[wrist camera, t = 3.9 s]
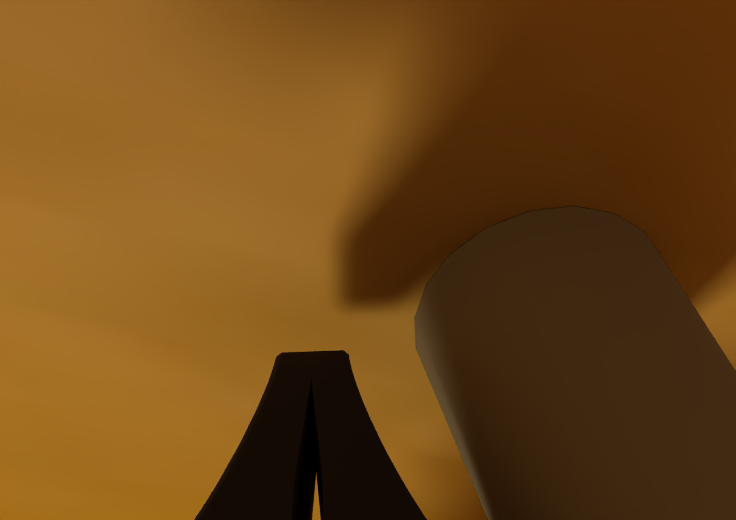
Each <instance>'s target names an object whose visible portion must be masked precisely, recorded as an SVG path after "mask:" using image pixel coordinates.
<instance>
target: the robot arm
mask: <svg viewBox="0 0 736 520" xmlns="http://www.w3.org/2000/svg"><path fill="white" fill-rule="evenodd" d="M316 474H317V484H318V495H319V505H320V516H321V520H427V519H426V518H425V516H424V515H423V513H422V511H421V510H420V508H419V507H418V505H417V504H416V502H415V501H414V499H413V497H412V496H411V494H410V493H409V491H408V489H407V488H406V486H405V484H404V482H403V481H402V479H401V477H400V476H399V474H398V472H397V470H396V468H395V467H394V465H393V463H392V461H391V459H390V458H389V456H388V454H387V452H386V450H385V448H384V446H383V444H382V442H381V440H380V438H379V436H378V434H377V432H376V430H375V428H374V425H373V423H372V421H371V419H370V417H369V415H368V412H367V410H366V408H365V405H364V403H363V400H362V398H361V395H360V393H359V390H358V387H357V385H356V382H355V379H354V375H353V372H352V368H351V364H350V360H349V354H347V353H346V352H345V351H343V350H339V351H313V352H287V353H281V354H279V355H278V356H277V357H276V360H275V363H274V367H273V370H272V373H271V376H270V379H269V381H268V384H267V386H266V389H265V391H264V394H263V396H262V398H261V401H260V403H259V405H258V408H257V410H256V412H255V414H254V416H253V418H252V420H251V422H250V424H249V426H248V428H247V430H246V432H245V434H244V437H243V439H242V440H241V442H240V444H239V446H238V448H237V450H236V452H235V453H234V455H233V457H232V459H231V460H230V462H229V464H228V466H227V468H226V469H225V471H224V473H223V475H222V476H221V478H220V480H219V482H218V483H217V485H216V487H215V488H214V490H213V491H212V493H211V495H210V496H209V498H208V500H207V501H206V503H205V504H204V506H203V507H202V509H201V510H200V512H199V513H198V515H197V516H196V518H195V519H194V520H312V513H313V502H314V491H315V480H316Z"/></svg>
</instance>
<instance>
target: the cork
mask: <svg viewBox="0 0 736 520" xmlns="http://www.w3.org/2000/svg"><path fill="white" fill-rule="evenodd" d="M414 319H415V339H416V349H417V352H418V354H419V357H420V359H421V361H422V364H423V366H424V368H425V371H426V373H427V376H428V378H429V380H430V383H431V385H432V388H433V390H434V392H435V395H436V397H437V399H438V402H439V404H440V407H441V409H442V411H443V414H444V416H445V418H446V421H447V423H448V426H449V428H450V430H451V433H452V435H453V438H454V440H455V442H456V445H457V447H458V449H459V452H460V454H461V457H462V459H463V461H464V464H465V466H466V468H467V471H468V473H469V476H470V478H471V480H472V483H473V485H474V488H475V490H476V492H477V495H478V497H479V499H480V502H481V504H482V507H483V509H484V511H485V514H486V516H487V518H488V520H736V371H735V369H734V368H733V366H732V365H731V363H730V362H729V360H728V358H727V357H726V355H725V354H724V352H723V351H722V349H721V348H720V346H719V345H718V343H717V341H716V340H715V338H714V337H713V335H712V334H711V332H710V331H709V329H708V328H707V326H706V324H705V323H704V321H703V320H702V318H701V317H700V315H699V314H698V312H697V311H696V309H695V307H694V306H693V304H692V303H691V301H690V300H689V298H688V297H687V295H686V294H685V292H684V290H683V289H682V287H681V286H680V284H679V283H678V281H677V280H676V278H675V277H674V275H673V273H672V272H671V270H670V269H669V267H668V266H667V264H666V263H665V261H664V260H663V258H662V257H661V255H660V254H659V252H658V251H657V249H656V248H655V246H654V245H653V243H652V242H651V240H650V239H649V237H648V236H647V234H646V233H645V232H644V231H642V230H641V229H639V228H637V227H636V226H634V225H632V224H631V223H629V222H627V221H626V220H624V219H622V218H621V217H619V216H617V215H616V214H613V213H608V212H603V211H597V210H592V209H587V208H581V207H576V206H571V207H562V208H553V209H544V210H535V211H528V212H526V213H523V214H521V215H518V216H516V217H513V218H510V219H508V220H505V221H503V222H500V223H498V224H495V225H493V226H490V227H487V228H485V229H484V230H483V231H481V232H480V233H479V234H477V235H476V236H474V237H473V238H472V239H470V240H469V241H468V242H466V243H465V244H463V245H462V246H461V247H459V248H458V249H457V250H455V251H454V252H453V253H451V254H450V255H449V256H448V258H447V259H446V260H445V262H444V263H443V264H442V265H441V267H440V268H439V269H438V271H437V272H436V273H435V274H434V276H433V277H432V278H431V279H430V281H429V282H428V283H427V285H426V286H425V289H424V292H423V295H422V298H421V301H420V304H419V306H418V309H417V312H416V315H415V318H414Z"/></svg>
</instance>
